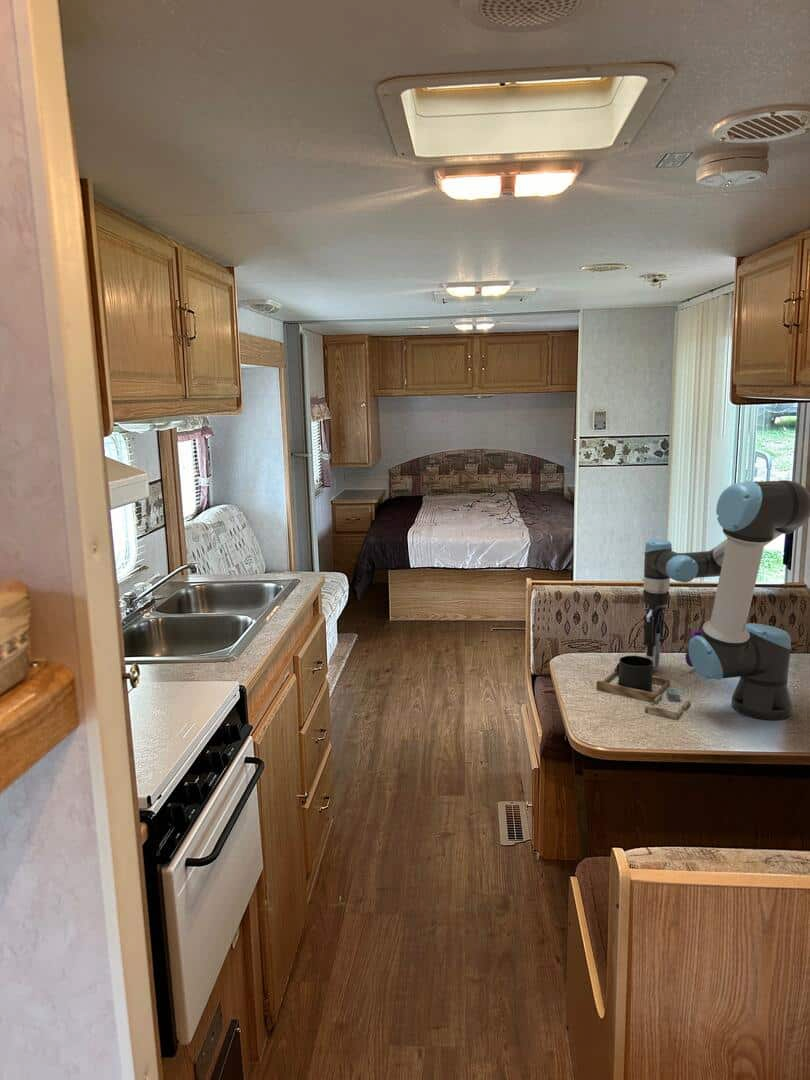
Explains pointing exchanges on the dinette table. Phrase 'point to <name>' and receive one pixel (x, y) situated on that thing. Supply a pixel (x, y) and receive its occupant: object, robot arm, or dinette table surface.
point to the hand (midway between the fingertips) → (652, 663)
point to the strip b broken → (672, 696)
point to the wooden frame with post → (633, 692)
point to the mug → (635, 672)
